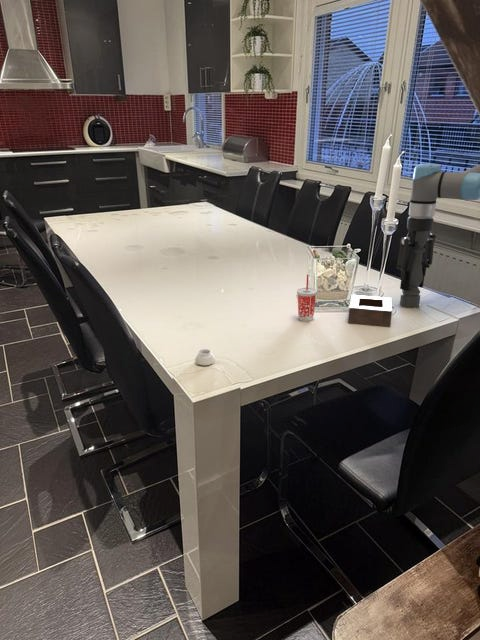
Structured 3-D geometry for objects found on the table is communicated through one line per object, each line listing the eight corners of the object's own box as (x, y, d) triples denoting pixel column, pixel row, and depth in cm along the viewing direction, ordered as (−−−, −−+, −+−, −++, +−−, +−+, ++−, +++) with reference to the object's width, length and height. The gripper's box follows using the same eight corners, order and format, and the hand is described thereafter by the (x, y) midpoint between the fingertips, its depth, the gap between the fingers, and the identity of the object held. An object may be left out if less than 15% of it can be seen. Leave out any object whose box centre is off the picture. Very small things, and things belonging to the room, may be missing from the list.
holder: (389, 312, 148) (391, 297, 146) (390, 327, 137) (392, 311, 135) (350, 309, 151) (351, 294, 149) (347, 323, 140) (349, 307, 139)
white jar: (202, 356, 121) (191, 363, 117) (202, 345, 120) (190, 353, 116) (219, 360, 118) (207, 368, 115) (218, 349, 117) (207, 357, 113)
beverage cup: (310, 313, 148) (313, 271, 143) (318, 320, 143) (321, 276, 137) (292, 315, 147) (294, 272, 141) (300, 322, 141) (302, 278, 136)
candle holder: (416, 309, 151) (427, 232, 141) (397, 305, 154) (406, 230, 145) (421, 303, 156) (431, 228, 146) (402, 300, 159) (411, 227, 149)
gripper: (432, 212, 151) (422, 280, 160) (389, 217, 143) (381, 289, 151) (452, 215, 145) (440, 286, 154) (408, 221, 137) (399, 296, 145)
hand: (411, 287), depth 153 cm, fingers closed on candle holder, 6 cm apart
